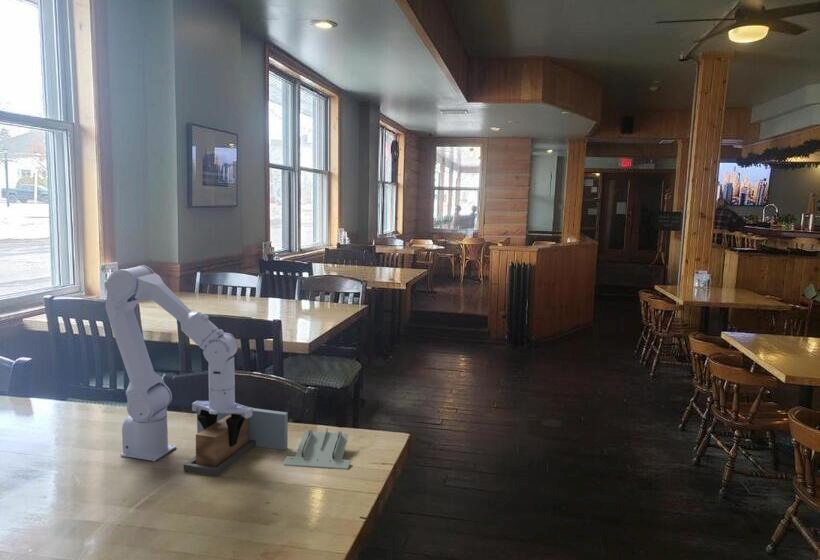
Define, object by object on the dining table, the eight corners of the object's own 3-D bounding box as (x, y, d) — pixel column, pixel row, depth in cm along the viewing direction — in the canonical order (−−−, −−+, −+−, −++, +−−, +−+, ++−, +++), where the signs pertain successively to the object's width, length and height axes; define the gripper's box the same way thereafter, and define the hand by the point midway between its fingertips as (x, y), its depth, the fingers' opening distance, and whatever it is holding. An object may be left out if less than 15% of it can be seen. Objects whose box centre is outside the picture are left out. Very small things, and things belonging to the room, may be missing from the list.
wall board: (153, 466, 129) (152, 427, 128) (201, 435, 146) (200, 401, 145) (249, 481, 123) (249, 441, 122) (287, 447, 141) (287, 412, 139)
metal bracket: (297, 422, 143) (357, 425, 142) (298, 441, 145) (357, 444, 144) (281, 462, 129) (346, 466, 128) (283, 482, 132) (347, 486, 131)
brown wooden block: (195, 464, 128) (195, 434, 128) (229, 441, 142) (230, 414, 141) (215, 467, 127) (215, 437, 126) (248, 444, 141) (248, 416, 140)
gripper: (183, 389, 130) (184, 445, 132) (240, 396, 127) (241, 454, 128) (201, 379, 137) (202, 434, 139) (256, 386, 133) (257, 442, 135)
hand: (222, 443), depth 134 cm, fingers closed on brown wooden block, 5 cm apart
